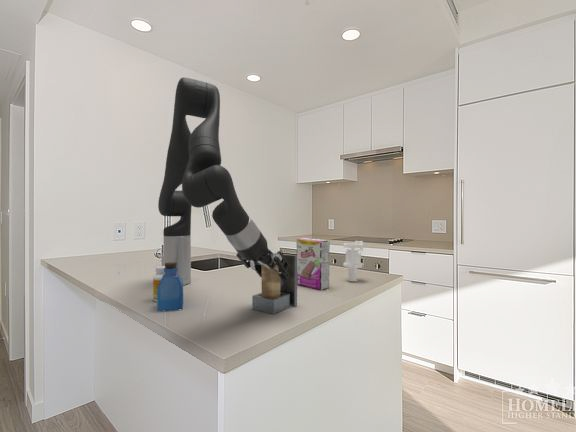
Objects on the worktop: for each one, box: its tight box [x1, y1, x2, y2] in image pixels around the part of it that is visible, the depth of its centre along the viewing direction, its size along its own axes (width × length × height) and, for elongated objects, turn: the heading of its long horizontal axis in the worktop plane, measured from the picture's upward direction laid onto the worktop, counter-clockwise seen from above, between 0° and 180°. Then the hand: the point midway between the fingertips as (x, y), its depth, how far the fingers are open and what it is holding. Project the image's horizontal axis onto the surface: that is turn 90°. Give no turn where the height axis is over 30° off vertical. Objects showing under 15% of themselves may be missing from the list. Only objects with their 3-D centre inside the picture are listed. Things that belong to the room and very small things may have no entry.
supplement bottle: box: [152, 265, 165, 302], centre depth 93 cm, size 5×5×10 cm
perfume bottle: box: [156, 262, 184, 312], centre depth 86 cm, size 6×6×12 cm
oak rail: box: [261, 259, 280, 299], centre depth 85 cm, size 4×4×13 cm
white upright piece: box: [342, 240, 364, 282], centre depth 118 cm, size 7×7×15 cm
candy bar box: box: [296, 237, 330, 291], centre depth 109 cm, size 11×5×16 cm, turn 47°
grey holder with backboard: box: [251, 252, 298, 315], centre depth 86 cm, size 9×9×14 cm
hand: (274, 276), depth 87 cm, fingers open, 7 cm apart
